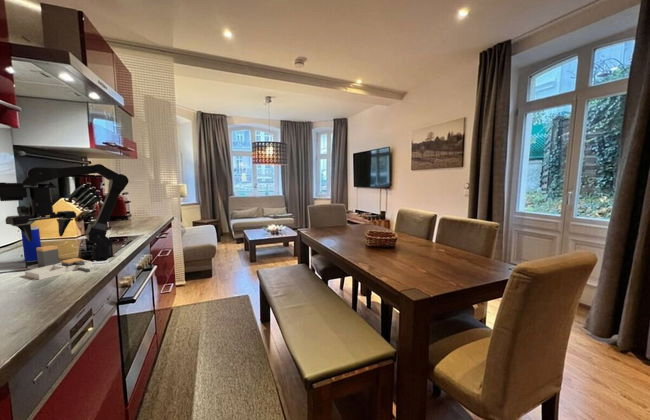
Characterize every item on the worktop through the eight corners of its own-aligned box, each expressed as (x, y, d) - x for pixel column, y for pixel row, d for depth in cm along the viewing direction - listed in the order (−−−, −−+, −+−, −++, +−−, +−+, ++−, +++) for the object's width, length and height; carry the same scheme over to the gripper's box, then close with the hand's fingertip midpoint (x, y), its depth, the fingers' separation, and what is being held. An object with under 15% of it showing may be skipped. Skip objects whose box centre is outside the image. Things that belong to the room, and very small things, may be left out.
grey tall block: (53, 263, 110) (51, 245, 109) (59, 265, 109) (57, 246, 108) (38, 267, 106) (36, 247, 105) (45, 268, 104) (42, 249, 104)
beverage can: (46, 259, 117) (42, 225, 115) (32, 263, 112) (27, 228, 110) (35, 258, 118) (31, 225, 116) (21, 262, 113) (16, 227, 111)
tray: (57, 262, 113) (56, 259, 113) (69, 265, 110) (69, 262, 110) (27, 269, 105) (27, 266, 105) (40, 272, 102) (40, 269, 102)
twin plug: (76, 266, 109) (75, 257, 109) (95, 270, 105) (94, 261, 105) (62, 269, 105) (61, 260, 105) (81, 273, 101) (80, 264, 101)
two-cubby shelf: (78, 263, 112) (78, 258, 112) (92, 266, 109) (91, 261, 109) (25, 276, 97) (24, 271, 97) (39, 280, 94) (38, 274, 94)
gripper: (59, 197, 115) (63, 232, 117) (-6, 200, 98) (1, 242, 100) (75, 198, 112) (79, 234, 114) (11, 202, 94) (17, 245, 96)
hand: (46, 238), depth 106 cm, fingers open, 9 cm apart
